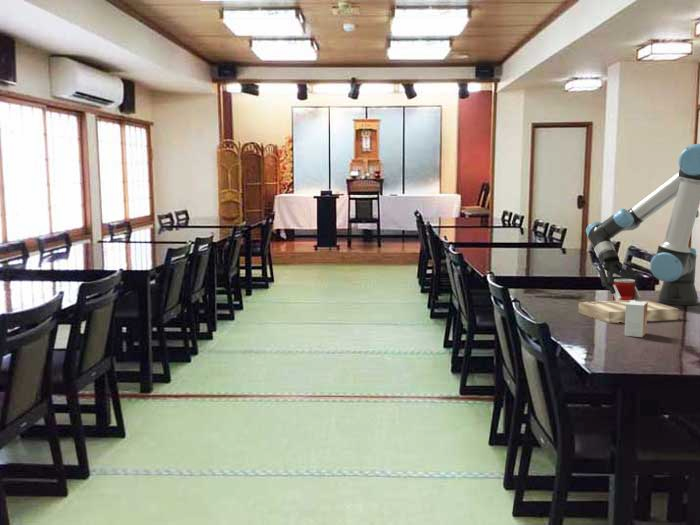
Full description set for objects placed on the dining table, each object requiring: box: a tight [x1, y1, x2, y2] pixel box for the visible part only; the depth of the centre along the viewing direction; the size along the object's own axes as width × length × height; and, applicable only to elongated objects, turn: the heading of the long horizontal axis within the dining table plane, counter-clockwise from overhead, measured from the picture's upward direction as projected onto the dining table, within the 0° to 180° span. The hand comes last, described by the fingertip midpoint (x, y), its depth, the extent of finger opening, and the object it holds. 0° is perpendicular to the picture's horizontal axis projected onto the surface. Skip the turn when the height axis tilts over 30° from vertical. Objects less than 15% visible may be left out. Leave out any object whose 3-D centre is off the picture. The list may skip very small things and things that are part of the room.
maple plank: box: [578, 299, 680, 324], centre depth 253 cm, size 28×20×4 cm
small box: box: [624, 301, 648, 338], centre depth 222 cm, size 8×6×10 cm
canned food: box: [612, 277, 635, 301], centre depth 271 cm, size 8×8×11 cm
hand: (628, 299), depth 268 cm, fingers closed on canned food, 8 cm apart
